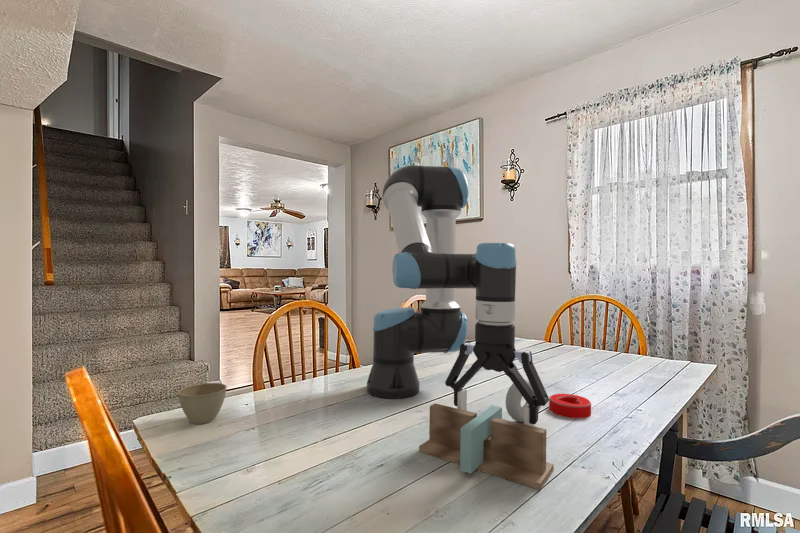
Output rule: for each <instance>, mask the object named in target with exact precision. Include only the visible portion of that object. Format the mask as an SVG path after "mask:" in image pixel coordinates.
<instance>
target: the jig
mask: <svg viewBox="0 0 800 533" xmlns="http://www.w3.org/2000/svg"><path fill="white" fill-rule="evenodd" d="M477 416H478V413H477V412H473V411H470V410H467V411H466V410H461V409H457V407H452V406H448V405H443V404H439V403H433V404H430V405H429V427H428V428H429V431H428V432H429V435H428V436H429V438H428V440H426V441H424V442H423V443H421V444H420V445H418V452H420V453H423V454H426V455H429V456H432V457H436V458H438V459H442V460H445V461H449V462H451V463H454V464H458V465H460V440H461V427H463V426H464V425H465V424H467V423H468V422H470V421H471V420H472V419H474V418H475V417H477ZM475 470H477V471H480V472H482V473H483V472H484V473H486V474H489V475H492V476H495V477H498V478H501V479H504V480H508V481H511V482H514V483H518V484H521V485H523V486H527V487H530V488H533V489H536V490H539V491H541V490H542V489H543V487H544V485H545V484H546V483H547V481H548V479H549V478H550V477H551V475H552V474H553V472H554V470H555V467H554V463H551V462H547V429H545V428H543V427H537V426H535V425H533V426H530V425H526V424H524V423H522V422H518V421H512V420H508V419H504V418H502V419H500V418H496V417H495V418H494V419H492V420H491V435H490V436H489V437H488V438H486V439H485V440H484V444H483V463H482V464H480V465H479V466H478V467H477V468H476V469H475Z"/></svg>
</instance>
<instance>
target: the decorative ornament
mask: <svg viewBox="0 0 800 533" xmlns="http://www.w3.org/2000/svg"><path fill="white" fill-rule="evenodd" d="M548 404H549V405H548V409H549V411H550V412H552V413H553V414H555V415H558V416H562V417H565V418H570V419H571V418H573V419H586V418H589V417H590V416H592V403H591V401H590V399H588V398H586V397H585V396H582V395H581V396H580V395H576V394H572V393H556V394H552V395H551V396H550V397H549V401H548Z"/></svg>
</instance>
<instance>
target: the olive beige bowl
mask: <svg viewBox="0 0 800 533" xmlns="http://www.w3.org/2000/svg"><path fill="white" fill-rule="evenodd" d="M226 392H227V384H225V383H221V382H205V383H197V384H193V385H189V386H186V387H183V388H181V389H179V390H178V391H177V395H178V396H177V397H178V400H179V404H180V407H181V409H182V411H183V413H184V414H185V417H186V418H187V420H188V421H189V422H190V423H192V424H194V425H201V424H203V425H204V424H207V423H210V422H212V421H214V420H215V419H216V417H217V416H218V415H219V412H221V409H222V407H223V403H224V402H225V398H226Z"/></svg>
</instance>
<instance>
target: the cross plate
mask: <svg viewBox="0 0 800 533" xmlns="http://www.w3.org/2000/svg"><path fill="white" fill-rule="evenodd" d="M495 417H496V418H500V419H503V407H502V406H497V405H495V404H494V405H493V404H492V405H490V406H489V407H488V408H486V409H485V410H484V411H482V412H481V413H480V414H477V417H475V418H474V419H472V420H471V421H470V422H468V423H467V424H465V425H464V426H463V427H461V440H460V464H459V465H460V466H459V467H460V468H459V470H460V471H461V472H464V473H468V474H472V473H473V472H474V471H475V470H476V468H477V467H478V466H479V465H480V464H482V463H483V444H484V440H485V439H486V438H488V437H489V436H490V435H491V420H492V419H494V418H495Z"/></svg>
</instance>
